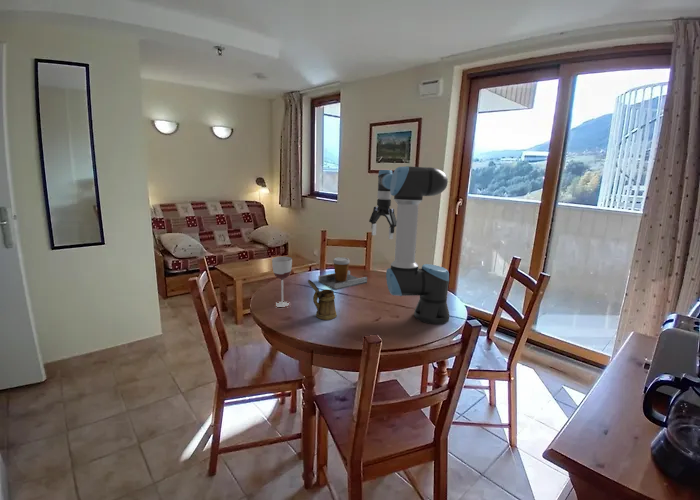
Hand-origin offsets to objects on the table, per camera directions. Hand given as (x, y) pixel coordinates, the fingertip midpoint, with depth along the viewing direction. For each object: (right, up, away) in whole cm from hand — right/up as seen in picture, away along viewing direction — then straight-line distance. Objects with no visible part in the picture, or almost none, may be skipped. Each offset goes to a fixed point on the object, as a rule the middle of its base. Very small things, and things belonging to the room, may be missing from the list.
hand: (382, 237), depth 203 cm
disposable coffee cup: (-23, -24, +5) cm, 34 cm away
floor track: (-22, -26, +2) cm, 34 cm away
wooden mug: (-30, -36, -46) cm, 66 cm away
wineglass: (-50, -33, -33) cm, 68 cm away
